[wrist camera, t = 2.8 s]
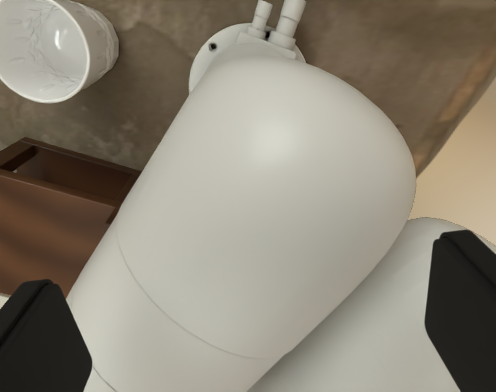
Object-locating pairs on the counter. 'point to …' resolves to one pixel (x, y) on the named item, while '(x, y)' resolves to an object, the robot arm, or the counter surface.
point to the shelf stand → (54, 211)
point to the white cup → (54, 48)
